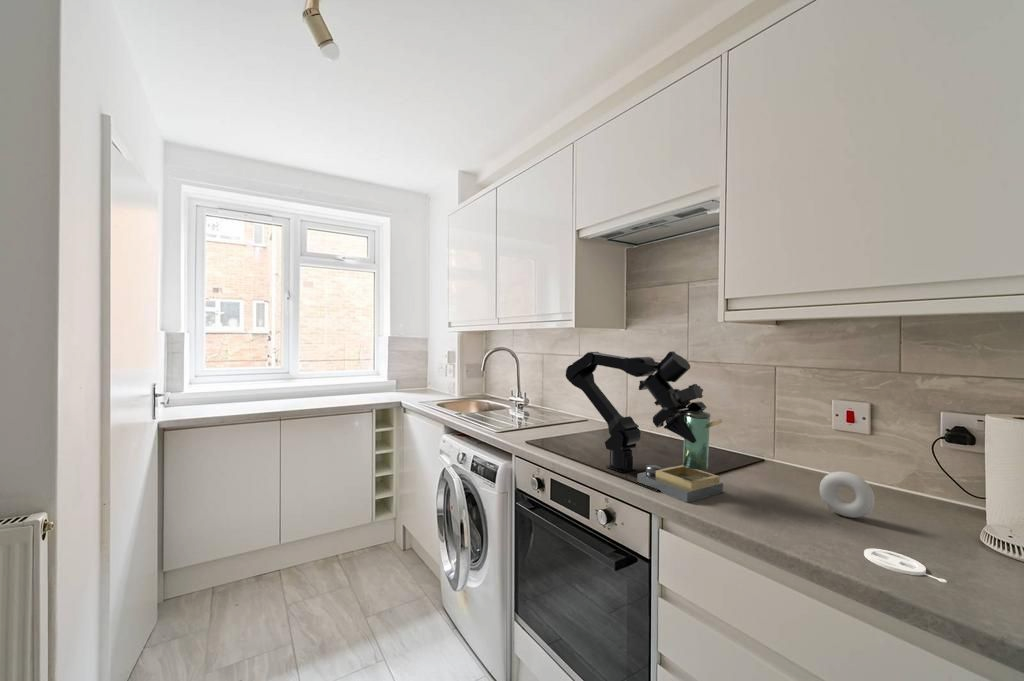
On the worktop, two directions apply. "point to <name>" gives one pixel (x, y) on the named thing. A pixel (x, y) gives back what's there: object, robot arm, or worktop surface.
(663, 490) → the grey tray base
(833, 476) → the donut
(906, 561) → the pendant
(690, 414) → the spout can
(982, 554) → the worktop surface
